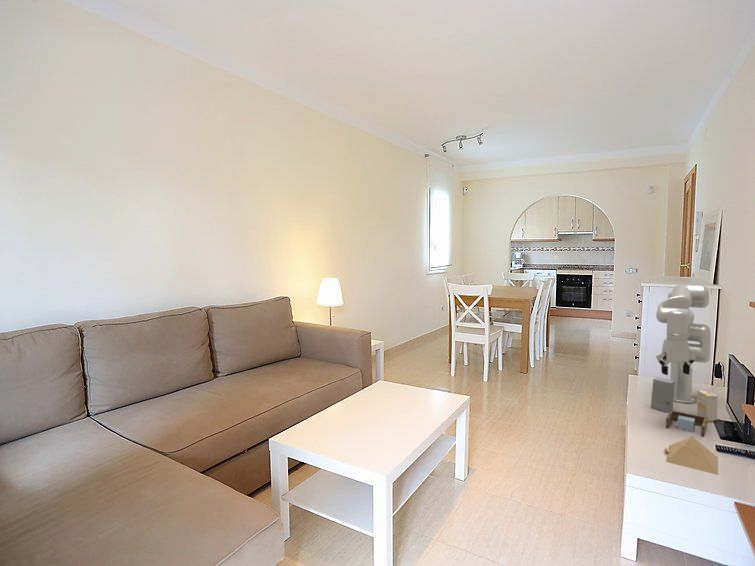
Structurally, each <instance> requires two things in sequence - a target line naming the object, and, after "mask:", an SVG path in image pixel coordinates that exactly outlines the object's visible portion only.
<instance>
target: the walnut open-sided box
mask: <svg viewBox="0 0 755 566" xmlns="http://www.w3.org/2000/svg"><path fill="white" fill-rule="evenodd" d="M679 415H680V416H685V417H689V418H694V419H695V426H698V427H701V426H702V427H701V428H700V429H701V431H700V432H701V433H700V435H701V437H703V438H704V437H705V435H706V431H707V428H708V422H707V418H706V417H702V416H697V414H693V413H692V414H691V413H687V412H681V411H676V410H674V409H673V410H671V411H670V412H668V414H667V417H666V419H665V428H666V429H667V430H668V429H670V426H671V424H672V422H673V421H674V422H677V421H678V416H679Z"/></svg>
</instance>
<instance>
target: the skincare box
mask: <svg viewBox="0 0 755 566" xmlns="http://www.w3.org/2000/svg"><path fill="white" fill-rule="evenodd" d="M674 388H675V381H673V380H670V378H669V379H668V378H664V377H661V376H660V377H659V376H657V377H655V378H653V379H652V390H651V391H652V392H651V401H650V408H651V409H654V410H658V411H662V412H666V413H669V412H670V411H671V410H673V411H674V401H673V400H674Z"/></svg>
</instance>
